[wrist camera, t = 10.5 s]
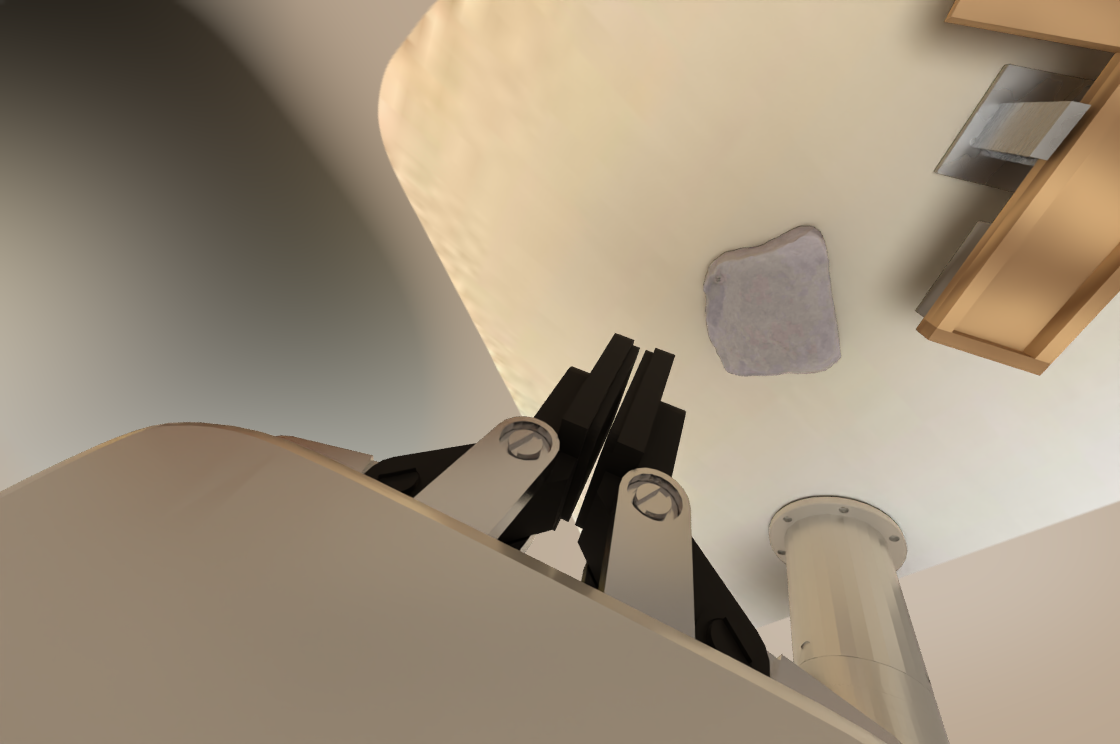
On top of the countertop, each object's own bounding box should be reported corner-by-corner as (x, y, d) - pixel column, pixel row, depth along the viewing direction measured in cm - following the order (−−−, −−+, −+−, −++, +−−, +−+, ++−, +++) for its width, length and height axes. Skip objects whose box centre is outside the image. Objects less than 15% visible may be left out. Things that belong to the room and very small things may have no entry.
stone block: (730, 362, 43) (848, 352, 36) (717, 386, 39) (844, 379, 33) (701, 249, 39) (828, 215, 32) (684, 265, 36) (821, 231, 29)
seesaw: (1001, 351, 28) (1039, 375, 24) (793, 285, 30) (801, 299, 27) (1399, -112, 17) (1565, -183, 14) (1026, -151, 20) (1088, -219, 16)
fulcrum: (1104, 214, 27) (1209, 245, 20) (933, 171, 29) (983, 188, 22) (1206, 104, 23) (1370, 102, 17) (1004, 65, 25) (1085, 50, 19)
